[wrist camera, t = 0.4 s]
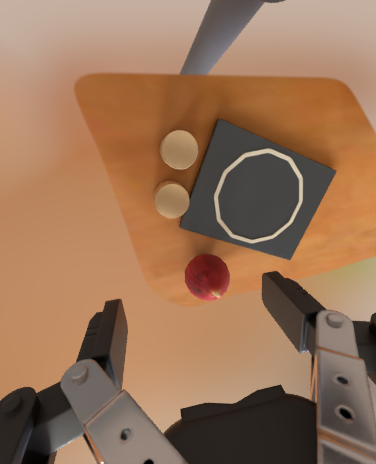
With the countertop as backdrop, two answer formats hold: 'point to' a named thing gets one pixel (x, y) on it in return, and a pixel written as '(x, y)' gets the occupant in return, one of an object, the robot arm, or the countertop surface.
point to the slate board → (254, 192)
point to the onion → (207, 277)
